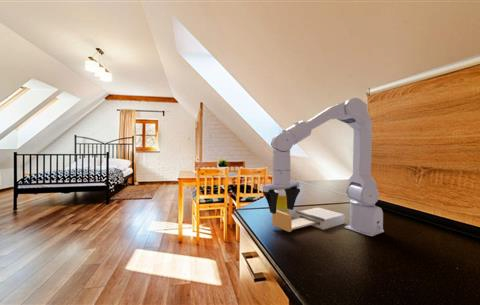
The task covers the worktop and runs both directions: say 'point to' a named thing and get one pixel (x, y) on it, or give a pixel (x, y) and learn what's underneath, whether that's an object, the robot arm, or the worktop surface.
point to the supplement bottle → (282, 201)
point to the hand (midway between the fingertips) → (281, 211)
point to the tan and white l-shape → (290, 221)
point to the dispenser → (322, 217)
